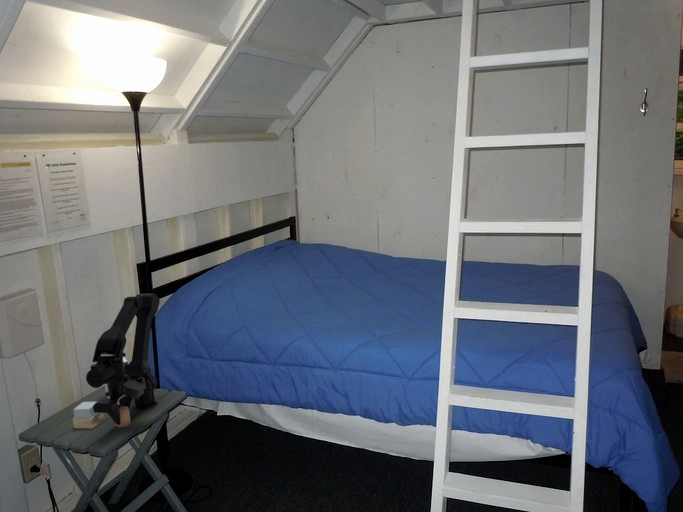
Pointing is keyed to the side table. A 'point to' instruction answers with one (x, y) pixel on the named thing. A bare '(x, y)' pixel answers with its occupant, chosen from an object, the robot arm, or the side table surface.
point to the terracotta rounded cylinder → (124, 417)
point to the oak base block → (88, 421)
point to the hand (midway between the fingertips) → (122, 420)
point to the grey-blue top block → (84, 410)
